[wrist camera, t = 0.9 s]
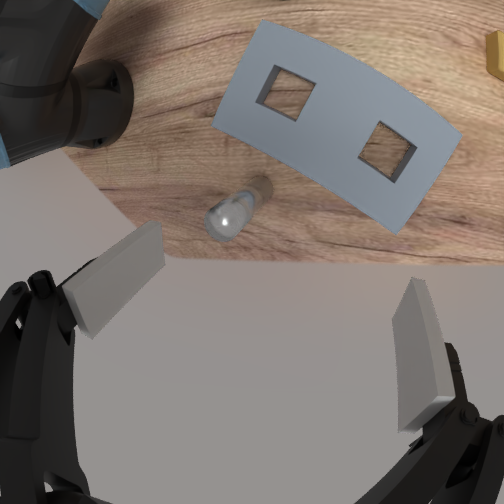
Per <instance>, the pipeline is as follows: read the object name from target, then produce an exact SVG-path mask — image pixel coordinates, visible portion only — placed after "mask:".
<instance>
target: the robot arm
mask: <svg viewBox="0 0 504 504" xmlns="http://www.w3.org/2000/svg"><path fill="white" fill-rule="evenodd" d="M109 1H110V0H0V169H3V168H9V167H10V166H13V165H15V164H17V163H20V162H22V161H25V160H27V159H30V158H33V157H35V156H38V155H40V154H43V153H46V152H49V151H52V150H55V149H58V148H61V147H65V146H69V147H78V148H86V149H97V148H101V147H104V146H108V145H110V144H112V143H113V142H115V141H116V140H117V139H118V138H119V137H120V136H121V134H122V133H123V131H124V130H125V128H126V126H127V124H128V121H129V119H130V115H131V111H132V106H133V86H132V81H131V78H130V75H129V73H128V71H127V70H126V68H125V67H124V66H123V65H122V64H121V63H119V62H117V61H115V60H104V59H100V60H94V61H91V62H88V63H86V64H83V65H80V66H78V67H75V68H73V67H74V65H75V63H76V61H77V58H78V56H79V54H80V52H81V50H82V48H83V46H84V44H85V42H86V41H87V39H88V37H89V35H90V33H91V31H92V30H93V28H94V26H95V24H96V23H97V21H98V20H100V19H101V17H102V15H101V14H102V13H103V11H104V9H105V7H106V6H107V4H108V2H109ZM164 265H165V259H164V249H163V239H162V228H161V222H157V221H152V220H149V221H148V222H146V223H145V224H143V225H142V226H141V227H139V228H138V229H136V230H135V231H133V232H132V233H131V234H129V235H128V236H127V237H125V238H124V239H122V240H121V241H119V242H118V243H117V244H115V245H114V246H112V247H111V248H110V249H108V250H107V251H106V252H104V253H103V254H102V255H100V256H99V257H97V258H95V259H92V260H90V261H89V262H87V263H86V264H85V265H83V266H82V268H80V269H78V270H77V272H74V273H73V274H72V275H71V276H69V277H68V278H67V279H66V280H64V281H63V282H62V283H61V284H60V285H58V286H57V287H56V285H55V283H54V280H53V277H52V274H51V273H50V271H47V270H41V271H38V272H36V273H34V274H32V275H31V276H30V277H29V279H28V280H27V281H28V284H29V287H30V289H31V291H29V288H28V286H27V284H26V283H25V282H23V281H20V282H16V283H14V284H13V285H11V286H10V287H9V288H8V290H7V291H6V293H5V294H4V296H3V297H2V299H1V301H0V491H1V497H0V504H111V503H109V502H105V501H103V500H100V499H97V498H94V497H91V496H90V491H89V487H88V483H87V479H86V476H85V474H84V472H83V471H82V469H81V468H80V466H79V462H78V457H77V448H76V439H75V428H74V411H73V362H74V344H75V330H74V327H75V326H76V325H78V327H79V329H80V331H81V333H82V334H84V335H85V336H87V337H89V338H91V339H93V338H94V337H95V336H96V335H97V334H98V333H99V331H101V330H102V328H103V327H104V326H105V325H106V324H107V323H108V322H109V321H110V320H111V319H112V318H113V317H114V316H115V315H116V314H117V313H118V312H119V311H120V310H121V308H122V307H123V306H124V305H125V304H126V303H127V302H128V301H129V300H130V299H131V298H132V297H133V296H134V295H135V294H136V293H137V292H138V291H139V290H140V289H141V288H142V287H143V286H144V285H145V284H146V283H147V282H148V281H149V280H150V279H151V278H152V277H153V276H154V275H155V274H156V273H157V272H158V271H159V270H160V269H161V268H162V267H163V266H164ZM17 319H19V321H20V323H21V325H22V326H21V328H20V329H19V328H18V326H17V325H16V323H15V322H16V320H17ZM392 324H393V332H394V342H395V352H396V365H397V382H398V433H415V432H417V431H418V430H419V429H420V428H422V427H423V435H422V436H420V437H419V438H418V439H417V440H415V441H414V442H413V443H411V444H410V445H409V446H410V447H411V446H412V445H413V446H412V447H411V448H410V449H409V450H408V451H407V453H406V454H405V455H404V456H403V457H402V458H401V459H400V460H399V462H398V463H397V464H396V465H395V466H394V467H393V468H392V469H391V470H390V471H389V472H388V473H387V474H386V475H385V476H384V477H383V478H382V479H381V480H380V481H379V482H378V483H377V484H376V485H375V486H374V487H373V488H371V489H370V490H369V491H368V492H367V493H366V494H365V495H364V496H363V497H362V498H360V499H359V500H358V501H357V502H356V503H355V504H428V503H429V502H430V501H431V500H432V501H431V503H430V504H495V502H496V499H497V497H498V494H499V491H500V488H501V484H502V481H503V478H504V415H500V416H498V417H497V418H495V419H494V420H493V421H489V420H487V419H484V418H481V417H480V415H479V412H478V410H477V408H476V407H475V406H474V404H472V403H470V402H468V400H467V394H466V389H465V384H464V379H463V375H462V373H461V371H462V370H461V366H460V365H459V363H460V362H459V358H458V354H457V352H456V350H455V349H454V347H453V345H452V344H451V343H445V342H444V340H443V337H442V332H441V329H440V326H439V322H438V319H437V315H436V312H435V309H434V306H433V303H432V299H431V297H430V294H429V291H428V288H427V285H426V282H425V280H422V279H417V278H413V277H411V280H410V282H409V284H408V287H407V289H406V291H405V293H404V295H403V298H402V300H401V302H400V304H399V306H398V308H397V310H396V312H395V314H394V316H393V318H392ZM44 482H46V483H48V484H49V485H50V486H51V487H52V489H53V491H52V492H45V485H44ZM432 498H433V499H432Z"/></svg>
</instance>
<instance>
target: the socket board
mask: <svg viewBox="0 0 504 504" xmlns="http://www.w3.org/2000/svg"><path fill="white" fill-rule="evenodd" d="M280 69H282V70H285V71H287V72H289V73H291V74H294V75H296V76H298V77H300V78H302V79H304V80H306V81H308V82H311V83H313V84H315V87H314V89H313V91H312V93H311V95H310V96H309V98H308V100H307V102H306V104H305V106H304V107H303V109H302V111H301V113H300V115H299V117H298V119H297V120H296V119H294V118H292V117H290V116H288V115H286V114H284V113H282V112H280V111H278V110H276V109H274V108H272V107H269V106H267V105H265V104H263V103H264V100H265V99H266V97H267V95H268V93H269V91H270V89H271V87H272V85H273V83H274V81H275V79H276V77H277V75H278V73H279V71H280ZM378 122H380V123H382V124H383V125H385V126H386V127H388V128H389V129H390V130H392V131H393V132H395V133H396V134H397V135H399V136H400V137H402V138H403V139H404V140H406V141H407V142H408V143H410V144H411V146H410V147H409V149H408V151H407V152H406V154H405V156H404V157H403V159H402V160H401V162H400V163H399V165H398V167H397V168H396V170H395V171H394V173H393V174H392V176H391V177H388V176H387V175H385V174H384V173H383V172H381V171H380V170H378V169H377V168H375V167H374V166H373V165H371V164H370V163H368V162H367V161H365V160H364V159H362V158H361V157H359V154H360V152H361V151H362V149H363V147H364V146H365V144H366V142H367V141H368V139H369V137H370V136H371V134H372V132H373V131H374V129H375V127H376V125H377V124H378ZM211 126H212V127H214V128H216V129H218V130H220V131H222V132H224V133H226V134H228V135H231V136H233V137H235V138H237V139H239V140H241V141H243V142H245V143H247V144H249V145H250V146H252V147H254V148H256V149H258V150H260V151H262V152H264V153H266V154H268V155H269V156H271V157H273V158H275V159H277V160H279V161H280V162H282V163H284V164H286V165H288V166H289V167H291V168H293V169H295V170H296V171H298V172H300V173H301V174H303V175H305V176H307V177H308V178H310V179H312V180H313V181H315V182H317V183H318V184H320V185H322V186H323V187H325V188H326V189H328V190H330V191H331V192H333V193H334V194H336V195H338V196H339V197H341V198H342V199H344V200H345V201H347V202H349V203H350V204H352V205H353V206H355V207H356V208H358V209H359V210H361V211H362V212H364V213H365V214H367V215H368V216H369V217H371V218H372V219H374V220H375V221H377V222H378V223H380V224H381V225H382V226H384V227H385V228H387V229H388V230H389V231H391V232H392V233H394V234H395V235H397V234H398V232H399V231H400V230H401V228H402V227H403V226H404V224H405V223H406V222H407V220H408V219H409V217H410V216H411V215H412V213H413V212H414V211H415V209H416V208H417V206H418V205H419V203H420V202H421V201H422V199H423V198H424V196H425V195H426V193H427V192H428V190H429V189H430V187H431V186H432V184H433V183H434V181H435V180H436V178H437V177H438V175H439V174H440V172H441V171H442V169H443V167H444V166H445V164H446V163H447V161H448V159H449V158H450V156H451V154H452V153H453V151H454V149H455V148H456V146H457V144H458V142H459V141H460V139H461V137H462V134H461V133H460V132H459V131H458V130H457V129H456V128H454V127H453V126H452V125H451V124H450V123H449V122H448V121H446V120H445V119H444V118H443V117H442V116H440V115H439V114H438V113H437V112H436V111H434V110H433V109H432V108H431V107H429V106H428V105H427V104H425V103H424V102H423V101H422V100H420V99H419V98H417V97H416V96H415V95H413V94H412V93H411V92H409V91H408V90H406V89H405V88H403V87H402V86H400V85H399V84H397V83H396V82H394V81H393V80H391V79H390V78H388V77H387V76H385V75H383V74H382V73H380V72H379V71H377V70H375V69H374V68H372V67H370V66H368V65H367V64H365V63H363V62H361V61H360V60H358V59H356V58H354V57H352V56H350V55H348V54H346V53H344V52H342V51H340V50H338V49H336V48H334V47H332V46H330V45H328V44H326V43H323V42H321V41H319V40H317V39H314V38H312V37H310V36H307V35H305V34H302V33H300V32H297V31H295V30H292V29H289V28H286V27H284V26H281V25H278V24H275V23H272V22H269V21H266V20H262V21H261V22H260V24H259V26H258V28H257V30H256V32H255V33H254V35H253V37H252V39H251V41H250V43H249V45H248V47H247V49H246V51H245V53H244V55H243V56H242V58H241V60H240V63H239V65H238V67H237V69H236V71H235V73H234V75H233V77H232V79H231V81H230V83H229V85H228V88H227V90H226V92H225V94H224V96H223V99H222V101H221V103H220V105H219V108H218V110H217V112H216V115H215V117H214V119H213V122H212V124H211Z"/></svg>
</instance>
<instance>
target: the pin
mask: <svg viewBox="0 0 504 504" xmlns="http://www.w3.org/2000/svg"><path fill="white" fill-rule="evenodd" d="M273 192H274V187H273V184H272V182H271V181H270V180H269V179H268V178H266V177H264V176H257V177H254V178H253V179H252V180H250V181H249V182H247V183H246V184H244V185H243V186H242V187H240V188H239V189H237V190H236V191H235V192H233V193H232V194H230V195H229V196H228V197H226V198H225V199H223V200H222V201H221V202H219V203H218V204H217V205H215V206H214V207H213V208H211V209H210V210H209V211H208V212H207V213H206V215H205V218H204V225H205V228H206V231H207V232H208V234H209V235H210V236H211V237H212V238H214V239H216V240H218V241H221V242H227V241H230V240H232V239H233V238H234V237H235V236H236V235H237V234H238V233H239V232H240V231H241V230H242V229H243V227H244V226H245V225H246V224H247V223H248V222H249V221H250V220H251V218H252V217H253V216H254V215H255V214H256V213H257V212H258V211H259V210H260V209H261V207H262V206H263V205H264V204H265V203H266V202H267V201H268V200H269V199H270V198H271V196H272V195H273Z"/></svg>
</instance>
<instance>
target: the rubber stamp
mask: <svg viewBox="0 0 504 504" xmlns="http://www.w3.org/2000/svg"><path fill="white" fill-rule="evenodd" d="M486 54H487V71H488V72H489V73H490V74H492V75H494V76H496V77H497V78H499V79H501V80H502V81H504V33H503V32H502V31H500V30H497V31H495V32H493V33H491V34H489V35H487V36H486Z"/></svg>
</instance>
